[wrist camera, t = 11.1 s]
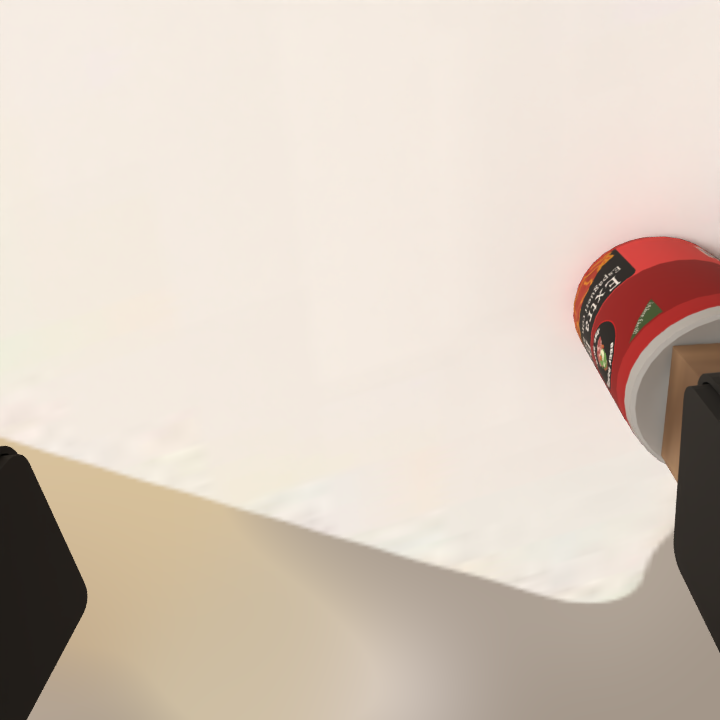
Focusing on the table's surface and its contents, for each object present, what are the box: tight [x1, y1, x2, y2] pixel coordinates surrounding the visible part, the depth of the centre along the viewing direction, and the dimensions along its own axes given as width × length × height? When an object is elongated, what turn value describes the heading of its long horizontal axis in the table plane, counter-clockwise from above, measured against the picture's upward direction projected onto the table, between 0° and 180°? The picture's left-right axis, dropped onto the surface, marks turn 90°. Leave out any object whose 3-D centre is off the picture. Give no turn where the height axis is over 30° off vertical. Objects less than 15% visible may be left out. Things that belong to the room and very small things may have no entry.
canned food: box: [573, 237, 720, 464], centre depth 32 cm, size 8×8×11 cm
